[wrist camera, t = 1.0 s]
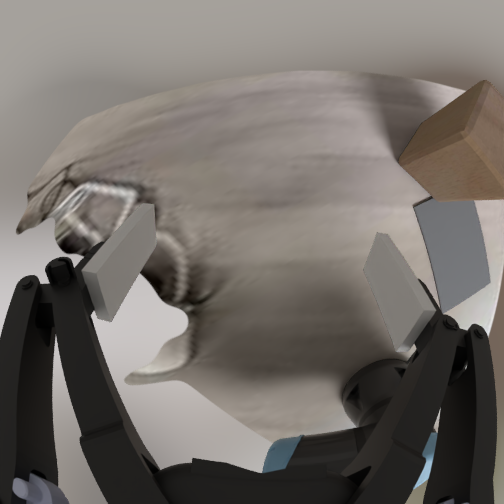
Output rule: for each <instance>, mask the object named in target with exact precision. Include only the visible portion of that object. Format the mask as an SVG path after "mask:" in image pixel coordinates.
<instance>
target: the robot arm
mask: <svg viewBox="0 0 504 504" xmlns="http://www.w3.org/2000/svg"><path fill="white" fill-rule="evenodd" d="M156 246H157V240H156V227H155V211H154V204H145V203H142V204H141V205H140V206H139V207H138V208H137V209H136V210H135V211H134V212H133V213H132V214H131V215H130V216H129V217H128V218H127V219H126V221H125V222H124V223H123V224H122V225H121V226H120V227H119V228H118V229H117V230H116V231H115V232H114V233H113V234H112V236H111V237H110V238H109V239H108V240H107V241H106V242H100V243H98V244H96V245H95V246H93V247H92V249H91V250H90V251H89V252H88V253H87V254H86V255H85V256H84V258H83V259H82V260H81V261H80V262H79V263H78V265H77V266H76V267H75V268H74V267H73V263H72V260H71V259H70V258H68V257H59V258H56V259H54V260H52V261H51V262H49V263H48V264H47V266H46V268H45V272H46V274H47V277H48V280H49V282H50V284H40V282H39V279H38V277H37V276H35V275H29V276H26V277H24V278H22V279H21V280H20V281H19V282H18V284H17V285H16V288H15V291H14V294H13V296H12V299H11V302H10V305H9V309H8V312H7V315H6V318H5V322H4V325H3V329H2V333H1V337H0V504H69V501H68V499H67V498H66V497H65V495H64V493H63V492H62V491H61V489H60V488H58V468H57V458H56V451H55V442H54V431H53V411H52V377H53V357H54V346H55V336H57V343H58V348H59V354H60V358H61V363H62V368H63V372H64V376H65V381H66V385H67V388H68V392H69V395H70V399H71V402H72V406H73V409H74V412H75V415H76V418H77V421H78V424H79V427H80V430H81V434H82V436H81V437H80V445H81V448H82V451H83V453H84V455H85V458H86V460H87V463H88V465H89V467H90V469H91V471H92V473H93V476H94V478H95V480H96V482H97V484H98V486H99V488H100V489H101V491H102V493H103V495H104V497H105V499H106V501H107V502H108V504H405V503H406V501H407V499H408V497H409V496H410V494H411V492H412V490H413V489H415V488H416V487H418V486H419V485H421V484H422V483H423V482H425V481H426V480H427V479H428V478H429V479H428V483H427V487H426V491H425V495H424V500H423V504H494V490H493V474H494V467H495V456H496V441H497V408H496V391H495V380H494V372H493V364H492V357H491V351H490V345H489V340H488V336H487V333H486V332H485V330H484V328H482V327H481V326H479V325H477V324H472V325H471V326H470V328H469V329H468V330H463V329H460V328H459V325H458V323H457V322H456V321H455V319H453V318H452V317H451V316H448V315H444V314H443V313H442V312H441V310H440V308H439V306H438V305H437V303H436V301H435V300H434V298H433V296H432V295H431V293H430V291H429V290H428V288H427V286H426V285H425V284H424V283H423V282H422V281H421V280H420V279H417V277H416V276H415V274H414V272H413V271H412V269H411V268H410V266H409V265H408V263H407V262H406V260H405V259H404V257H403V256H402V254H401V253H400V251H399V250H398V248H397V247H396V245H395V244H394V243H393V241H392V240H391V238H390V237H389V235H388V234H383V233H378V232H377V234H376V237H375V240H374V243H373V245H372V248H371V251H370V253H369V256H368V259H367V261H366V264H365V267H364V269H363V270H364V273H365V275H366V277H367V279H368V282H369V284H370V286H371V289H372V291H373V294H374V296H375V298H376V301H377V303H378V306H379V308H380V311H381V313H382V316H383V318H384V321H385V323H386V326H387V329H388V331H389V334H390V337H391V340H392V342H393V345H394V348H395V351H396V352H407V351H409V350H410V348H411V347H412V346H413V344H414V343H415V346H416V348H417V349H416V351H415V352H414V353H413V355H412V356H411V357H410V358H409V360H408V361H407V362H404V361H401V360H397V359H387V360H381V361H378V362H375V363H372V364H370V365H368V366H366V367H365V368H363V369H361V370H360V371H359V372H358V373H356V374H355V375H354V376H353V377H352V378H351V379H350V381H349V382H348V384H347V385H346V387H345V389H344V392H343V405H344V410H345V412H346V414H347V416H348V417H349V418H350V419H351V421H352V422H353V423H354V424H355V426H356V427H357V428H352V429H347V430H341V431H335V432H329V433H322V434H315V435H307V436H304V435H300V436H298V437H291V438H283V439H279V440H277V441H275V442H274V443H273V444H272V446H271V447H270V449H269V451H268V453H267V456H266V459H265V462H264V466H263V471H262V473H257V472H254V471H250V470H247V469H244V468H241V467H237V466H234V465H231V464H228V463H224V462H215V461H209V460H202V459H196V458H193V459H192V463H183V464H177V465H173V466H170V467H167V468H164V469H162V470H160V468H159V467H158V465H157V464H156V462H155V460H154V459H153V457H152V456H151V454H150V453H149V451H148V450H147V449H146V447H145V445H144V444H143V442H142V440H141V438H140V436H139V435H138V433H137V431H136V429H135V427H134V425H133V423H132V421H131V419H130V417H129V415H128V413H127V411H126V409H125V406H124V404H123V402H122V400H121V398H120V395H119V393H118V391H117V388H116V386H115V384H114V381H113V379H112V376H111V374H110V371H109V368H108V366H107V363H106V360H105V358H104V355H103V352H102V349H101V346H100V343H99V340H98V337H97V334H96V331H95V328H94V324H93V321H92V318H91V314H92V312H93V311H94V310H95V313H96V315H97V318H98V319H101V320H105V321H109V322H112V320H113V318H114V316H115V315H116V312H117V311H118V309H119V307H120V306H121V304H122V302H123V300H124V298H125V297H126V295H127V293H128V291H129V290H130V288H131V286H132V285H133V283H134V281H135V280H136V278H137V276H138V275H139V273H140V271H141V270H142V268H143V266H144V265H145V263H146V262H147V260H148V258H149V257H150V255H151V254H152V252H153V250H154V249H155V247H156ZM408 363H409V364H408ZM466 366H467V368H466V370H465V367H466ZM440 407H441V410H440ZM439 410H440V419H439V427H438V433H436V431H435V429H434V424H435V422H436V419H437V416H438V413H439Z"/></svg>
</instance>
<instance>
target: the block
mask: <svg viewBox="0 0 504 504" xmlns="http://www.w3.org/2000/svg"><path fill="white" fill-rule="evenodd" d="M398 163H399V164H400V166H401V167H402V168H403V169H405V170H406V171H407V172H408V173H409V174H410V175H411V176H412V177H413V178H414V179H415V180H416V181H417V182H418V183H419V184H420V185H421V186H422V187H423V188H424V189H425V190H426V191H427V192H428V193H429V194H430V195H431V196H432V197H433V198H434V199H435V200H436V201H438V202H452V201H472V200H500V199H504V98H503V97H502V95H501V94H500V93H499V92H498V91H497V90H496V88H495V87H494V86H493V85H492V84H491V83H490V82H489V81H487V80H483V81H480V82H479V83H477V84H476V85H474V86H473V87H472V88H470V89H469V90H467V91H466V92H465V93H463V94H462V95H460V96H459V97H458V98H456V99H455V100H453V101H452V102H451V103H449V104H448V105H446V106H445V107H444V108H442V109H441V110H439V111H438V112H437V113H435V114H434V115H432V116H431V117H430V118H428V119H427V120H426V121H424V122H423V123H421V125H420V126H419V128H418V130H417V131H416V133H415V134H414V136H413V137H412V139H411V141H410V142H409V144H408V145H407V147H406V148H405V150H404V151H403V153H402V154H401V156H400V157H399V162H398Z"/></svg>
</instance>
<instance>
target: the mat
mask: <svg viewBox="0 0 504 504" xmlns="http://www.w3.org/2000/svg"><path fill="white" fill-rule="evenodd" d="M413 208H414V211H415V214H416V216H417V219H418V222H419V225H420V228H421V231H422V235H423V238H424V241H425V245H426V248H427V251H428V255H429V259H430V262H431V266H432V270H433V274H434V279H435V283H436V287H437V292H438V297H439V302H440V307H441V312H442V313H445V312H447V311H448V310H450V309H452V308H453V307H455V306H457V305H458V304H460V303H461V302H463V301H464V300H466V299H467V298H469V297H470V296H472V295H473V294H475V293H476V292H478V291H479V290H481V289H482V288H484V287H485V286H486V285H488V284H489V283H491V282H490V274H489V267H488V261H487V255H486V249H485V244H484V239H483V234H482V230H481V226H480V222H479V218H478V214H477V210H476V206H475V203H474V200H472V201H452V202H438V201H436V200H435V199H434V198H432V199H430V200H427V201H425V202H423V203H421V204H419V205H417V206H415V207H413Z"/></svg>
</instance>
